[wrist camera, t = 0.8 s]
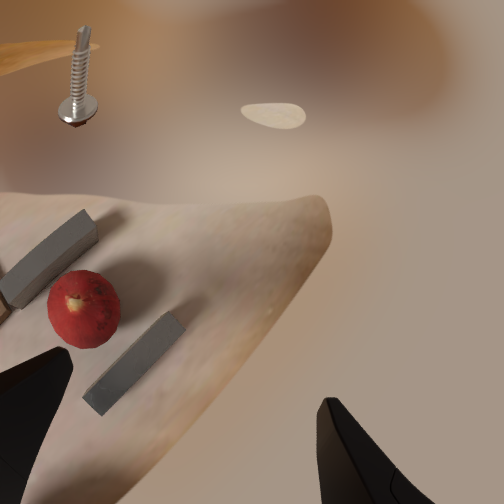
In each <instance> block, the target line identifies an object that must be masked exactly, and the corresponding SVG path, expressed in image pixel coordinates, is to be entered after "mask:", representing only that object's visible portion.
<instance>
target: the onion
mask: <svg viewBox="0 0 504 504" xmlns="http://www.w3.org/2000/svg"><path fill="white" fill-rule="evenodd" d="M47 307H48V316H49V319H50V322H51V324H52V326H53V328H54V330H55V332H56V333H57V334H58V335H59V336H60V337H61V338H62V339H63V340H64V341H65V342H66V343H68V344H70V345H73V346H75V347H78V348H80V349H88V348H96V347H98V346H100V345H102V344H104V343H105V342H107V341H108V340H109V339H110V338H111V336H112V335H113V334H114V333H115V332H116V330H117V326H118V323H119V320H120V300H119V298H118V296H117V294H116V292H115V290H114V288H113V286H112V285H111V284H110V283H109V282H108V281H107V280H106V279H104V278H103V277H102V276H101V275H100V274H98V273H94V272H91V271H87V270H77V271H70V272H69V273H67V274H65V275H64V276H62V277H60V278H59V280H58V281H57V282H56V283H55V284H54V285H53V286H52V288H51V290H50V293H49V297H48V301H47Z"/></svg>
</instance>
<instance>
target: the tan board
mask: <svg viewBox="0 0 504 504" xmlns="http://www.w3.org/2000/svg"><path fill="white" fill-rule="evenodd" d="M11 313H12V311H11V309H10V308H9V306H8V305H7V303H6V301H5V300H4V298H3V296H2V294H1V293H0V324H1V323H2V322H3V321H4V320H5V319H6V318H7V317H8V316H9V315H10V314H11Z"/></svg>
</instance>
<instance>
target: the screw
mask: <svg viewBox="0 0 504 504" xmlns="http://www.w3.org/2000/svg"><path fill="white" fill-rule="evenodd" d="M90 34H91V27H89V26H86V25H85V26H83V27H81V28H79V30H78V32H77V40H76V45H75V50H74V51H73V54H74V55H73V56H72V58H73V60H72V65H71V67H72V69H71V72H72V74H71V77H72V78H71V84H70V85H71V87H70V89H71V91H70V93H71V95H70V97H69V98H67V99H65V100H64V101H63V102H62V103H61V105H60V106H59V109H58V116H59V118H60V119H61V120H62V121H63V122H65V123H67V124H69V125H71V126H73V127H75V128H76V127H78V126H81V125H84V124H86V122H87V120H89V119H90V118H92V117H93V116H94V115H95V113H96V112H97V108H98V102H97V100H96V99H95V98H94V97H93V96H91V95H88V94H86V89H87V86H86V85H87V76H88V67H89V65H88V64H89V58H90V48H91V47H90V45H89V40H90Z"/></svg>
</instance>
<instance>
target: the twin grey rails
mask: <svg viewBox="0 0 504 504" xmlns="http://www.w3.org/2000/svg"><path fill="white" fill-rule="evenodd" d="M97 242H98V234H97V226H96V224H95V223H94V222H93V220H92V219H91V218H90V216H89V215H88V214H87V212H86V211H85V209H83V210H81V211H80V212H79V213H77V214H76V215H75V216H73V217H72V218H71V219H69V220H68V221H67V222H65V223H64V224H63V225H62V226H60V227H59V228H58V229H57V230H55V231H54V232H53V233H52V234H50V235H49V236H48V237H47V238H46V239H44V240H43V241H42V242H41V243H40V244H39V245H37V246H36V247H35V248H34V249H33V250H32V251H30V252H29V253H28V254H27V255H26V256H25V257H24V258H23V259H22V260H21V261H19V262H18V263H17V264H16V265H15V266H14V267H13V268H12V269H11V270H10V271H9V272H8V273H7V274H6V275H5V276H4V277H3V278H2V279H1V280H0V290H1V292H2V294H3V295H4V297H5V299H6V301H7V302H8V304H10V305H12V306H14V307H17V308H19V309H21V310H22V309H23V308H24V307H25V306H26V305H27V304H28V303H29V302H30V301H31V300H32V299H33V298H34V297H35V296H36V295H37V294H38V293H39V292H40V291H41V290H42V289H43V288H44V287H46V286H47V285H48V284H49V283H50V282H51V281H52V280H53V279H54V278H55V277H56V276H58V275H59V274H60V273H61V272H62V271H63V270H64V269H65V268H67V267H68V266H69V265H70V264H71V263H72V262H74V261H75V260H76V259H77V258H78V257H79V256H81V255H82V254H83V253H84V252H85V251H87V250H88V249H89V248H90V247H92V246H93V245H94V244H95V243H97ZM185 331H186V329H185V328H184V327H183V326H182V325H181V324H180V323H179V322H178V321H177V320H176V319H175V318H174V317H173V316H172V314H171V313H170V312H169V311H168V312H167V313H165V314H163V315H162V316H161V317H160V318H159V319H158V320H157V321H156V322H155V323H154V324H152V325H151V326H150V327H149V328H148V329H147V330H146V331H145V332H144V333H143V334H142V335H141V336H140V337H139V338H138V339H137V340H136V341H135V342H134V343H133V344H132V345H131V346H130V347H129V348H128V349H127V350H126V351H125V352H124V353H123V354H122V355H121V356H120V357H119V358H118V359H117V360H116V361H115V362H114V363H113V364H112V365H111V366H110V367H109V368H108V369H107V370H106V371H105V372H104V373H103V374H102V375H101V376H100V377H99V378H98V379H97V380H96V381H95V382H94V383H93V384H92V385H91V386H90V387H89V388H88V389H87V390H86V392H85V394H84V395H83V397H82V398H83V399H84V400H85V401H86V402H87V403H88V404H89V405H90V406H91V407H92V408H93V409H94V410H95V411H96V412H97V413H98V414H99V415H101V416H103V415H104V414H105V413H106V412H107V411H108V410H109V409H110V408H111V407H112V406H113V405H114V404H115V403H116V402H117V401H118V400H119V399H120V398H121V397H122V396H123V395H124V394H125V392H126V391H127V390H128V389H129V388H130V387H131V386H132V385H133V384H134V383H135V382H136V381H137V380H138V379H139V378H140V377H141V376H142V375H143V374H144V373H145V372H146V371H147V370H148V369H149V368H150V367H151V366H152V365H153V364H154V363H155V362H156V361H157V360H158V359H159V358H160V357H161V356H162V355H163V354H164V353H165V351H166V350H167V349H168V348H169V347H170V346H171V345H172V344H173V343H174V342H175V341H176V340H177V339H178V338H179V337H180V336H181V335H182V334H183V333H184V332H185Z"/></svg>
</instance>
